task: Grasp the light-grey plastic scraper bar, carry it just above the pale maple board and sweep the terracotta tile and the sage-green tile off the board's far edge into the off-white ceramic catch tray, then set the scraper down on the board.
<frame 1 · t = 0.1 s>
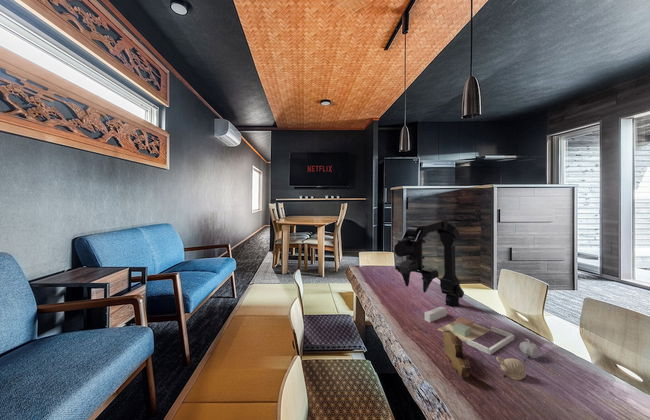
hand: (415, 289, 111), 14 cm above the table, fingers open, 9 cm apart
garlic: (528, 356, 86), on the table
board: (463, 333, 101), on the table
decorative ornament: (510, 375, 77), on the table
tile a: (464, 326, 104), point 1 cm above the table, touching board
tray: (491, 345, 92), on the table
tile b: (462, 332, 98), point 1 cm above the table, touching board
wooden carving: (455, 366, 81), on the table
scraper: (435, 321, 112), on the table
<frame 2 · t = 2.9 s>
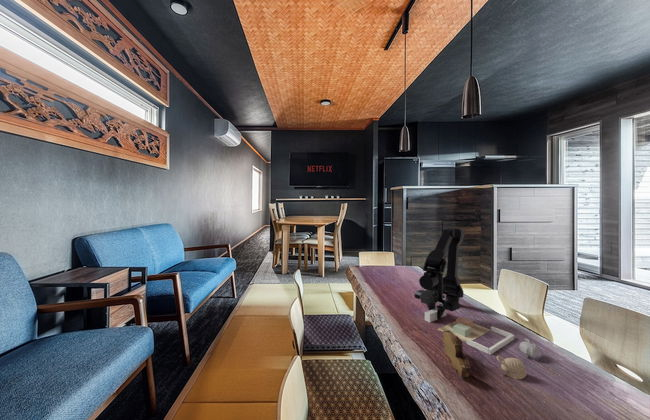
hand: (435, 318, 111), 1 cm above the table, fingers closed on scraper, 2 cm apart
scraper: (435, 321, 112), on the table, touching gripper
everything else where it was.
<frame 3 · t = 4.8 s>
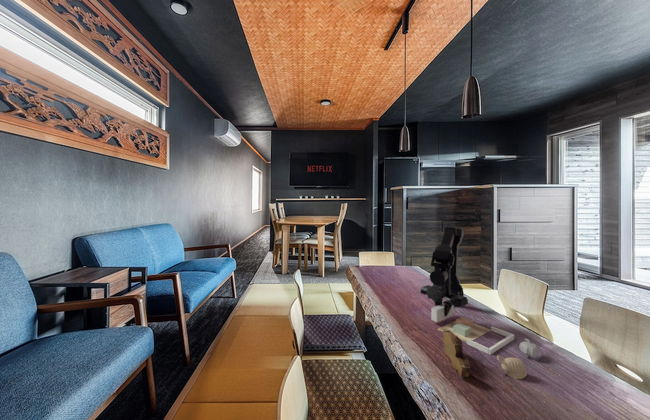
hand: (442, 314, 109), 4 cm above the table, fingers closed on scraper, 2 cm apart
scraper: (442, 317, 109), point 3 cm above the table, touching gripper
everything else where it was.
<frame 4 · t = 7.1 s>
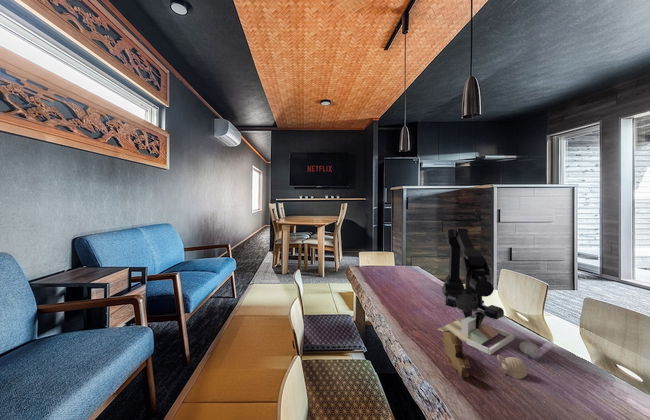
hand: (473, 327, 98), 4 cm above the table, fingers closed on scraper, 2 cm apart
tile a: (486, 334, 97), point 1 cm above the table, tilted 29°, touching scraper
tile b: (476, 340, 93), point 1 cm above the table, tilted 26°, touching tray
scraper: (473, 329, 98), point 3 cm above the table, touching gripper, tile a
everything else where it was.
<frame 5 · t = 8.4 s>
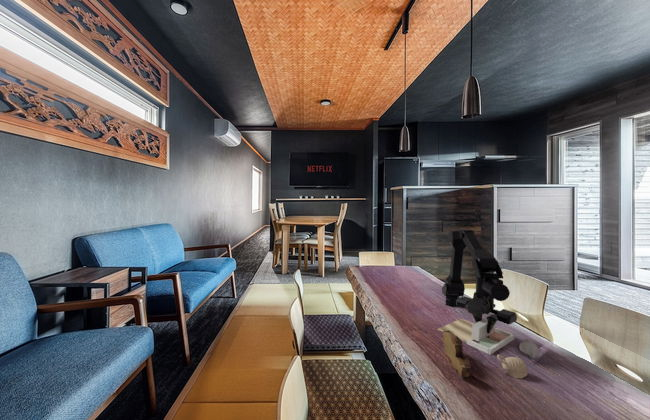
hand: (484, 331, 94), 4 cm above the table, fingers closed on scraper, 3 cm apart
tile a: (498, 342, 94), resting on tray, touching scraper
tile b: (488, 348, 90), resting on tray, touching scraper
scraper: (483, 334, 95), point 3 cm above the table, touching gripper, tile a, tile b
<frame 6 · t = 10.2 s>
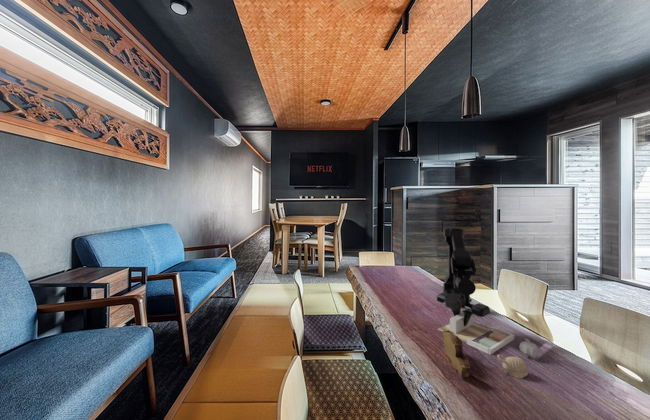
hand: (461, 324, 102), 3 cm above the table, fingers closed on scraper, 2 cm apart
tile a: (498, 342, 94), resting on tray
tile b: (488, 348, 90), resting on tray
scraper: (461, 327, 102), point 2 cm above the table, touching gripper
when the fingers open (3 cm above the table, at t = 10.9 s): scraper stays where it is, resting on board.
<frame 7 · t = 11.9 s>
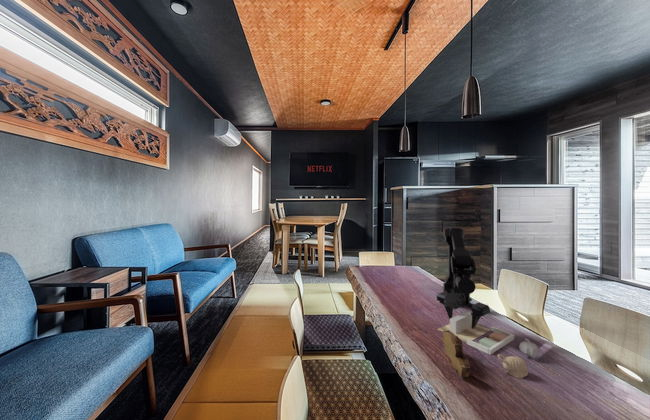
hand: (461, 323, 102), 3 cm above the table, fingers open, 9 cm apart
scraper: (461, 328, 102), point 1 cm above the table, touching board
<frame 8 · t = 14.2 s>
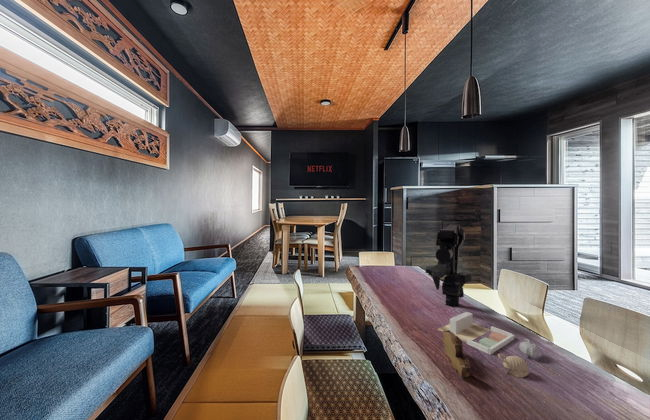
hand: (447, 292, 113), 12 cm above the table, fingers open, 9 cm apart
at the end: tile a inside the target area (4.1 cm from its centre), resting on tray; tile b inside the target area (3.3 cm from its centre), resting on tray; the gripper is holding nothing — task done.
